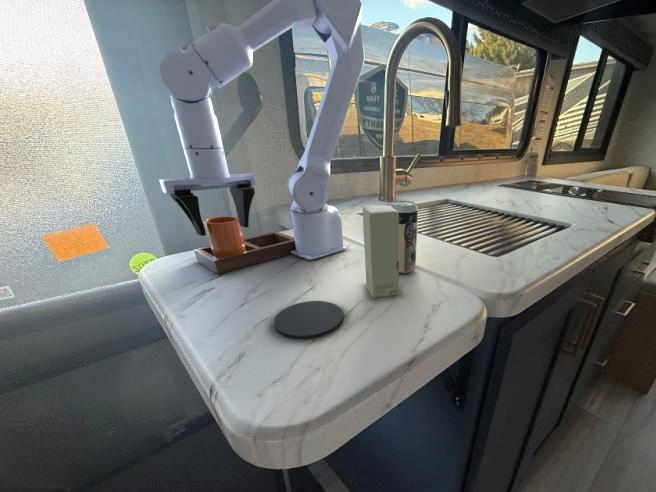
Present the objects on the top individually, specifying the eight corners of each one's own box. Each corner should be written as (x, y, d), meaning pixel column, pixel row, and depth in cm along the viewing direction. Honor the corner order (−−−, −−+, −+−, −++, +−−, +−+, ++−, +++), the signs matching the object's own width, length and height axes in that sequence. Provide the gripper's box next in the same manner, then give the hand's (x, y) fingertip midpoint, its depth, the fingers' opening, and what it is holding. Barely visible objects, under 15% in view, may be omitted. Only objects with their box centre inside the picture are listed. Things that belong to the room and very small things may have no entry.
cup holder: (197, 261, 60) (193, 249, 58) (278, 242, 71) (276, 231, 70) (218, 274, 55) (214, 261, 53) (301, 250, 66) (299, 239, 65)
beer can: (413, 275, 56) (415, 206, 50) (387, 273, 56) (387, 205, 51) (417, 266, 60) (420, 201, 54) (392, 263, 60) (393, 199, 55)
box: (399, 295, 49) (401, 211, 42) (371, 299, 47) (369, 213, 41) (390, 282, 53) (390, 204, 47) (364, 285, 52) (361, 205, 46)
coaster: (316, 297, 47) (316, 295, 47) (357, 318, 42) (357, 315, 42) (260, 321, 41) (260, 318, 41) (301, 348, 36) (300, 345, 36)
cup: (239, 254, 64) (230, 214, 60) (253, 261, 60) (244, 219, 57) (210, 261, 60) (198, 219, 56) (223, 269, 57) (212, 225, 53)
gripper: (236, 146, 58) (251, 219, 64) (142, 147, 48) (171, 234, 55) (255, 148, 54) (269, 226, 61) (157, 149, 44) (186, 242, 51)
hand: (224, 230), depth 57 cm, fingers open, 7 cm apart
